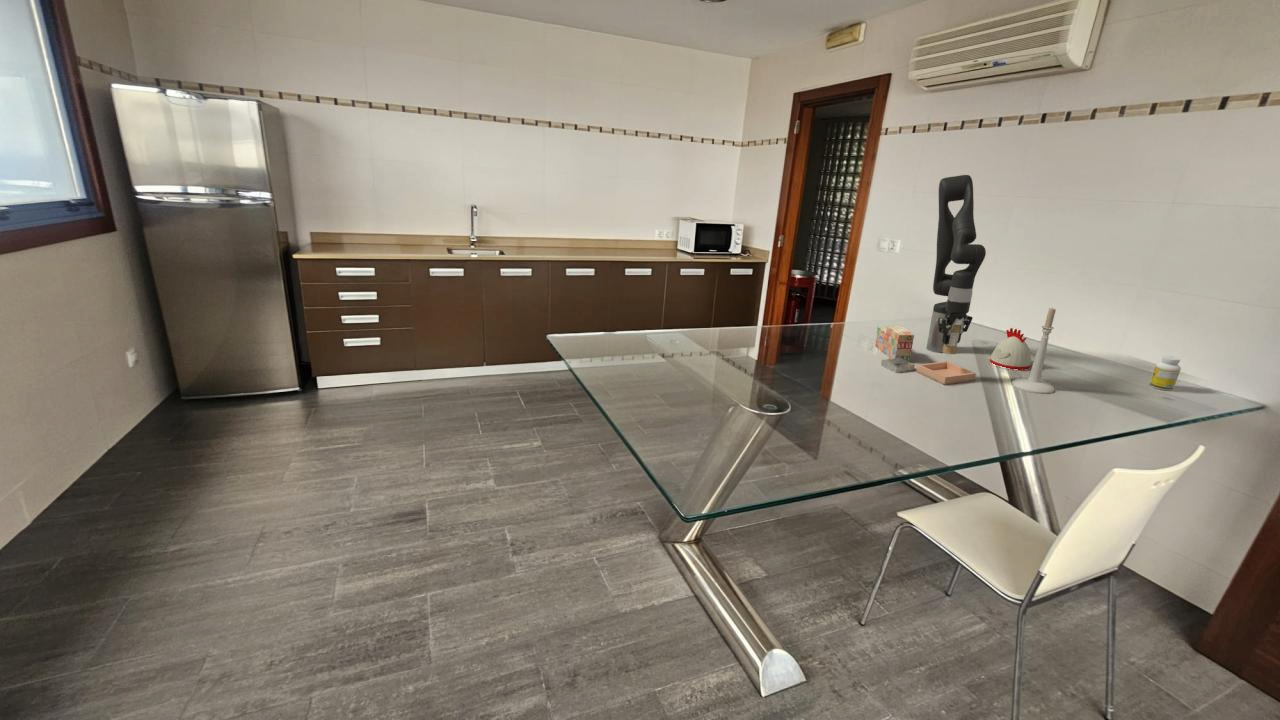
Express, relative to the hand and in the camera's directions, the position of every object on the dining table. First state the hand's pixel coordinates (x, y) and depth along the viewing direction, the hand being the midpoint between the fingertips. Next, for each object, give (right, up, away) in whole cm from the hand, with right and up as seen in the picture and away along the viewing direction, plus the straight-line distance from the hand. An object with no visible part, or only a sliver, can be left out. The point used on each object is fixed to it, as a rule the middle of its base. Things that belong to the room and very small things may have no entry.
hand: (950, 343), depth 203 cm
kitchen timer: (+33, -8, +16) cm, 38 cm away
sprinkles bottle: (0, -4, +1) cm, 4 cm away
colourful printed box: (-8, -4, +30) cm, 31 cm away
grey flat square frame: (-14, -10, +14) cm, 22 cm away
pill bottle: (+71, -17, -9) cm, 74 cm away
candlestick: (+26, -17, -6) cm, 32 cm away
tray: (0, -13, +4) cm, 13 cm away
